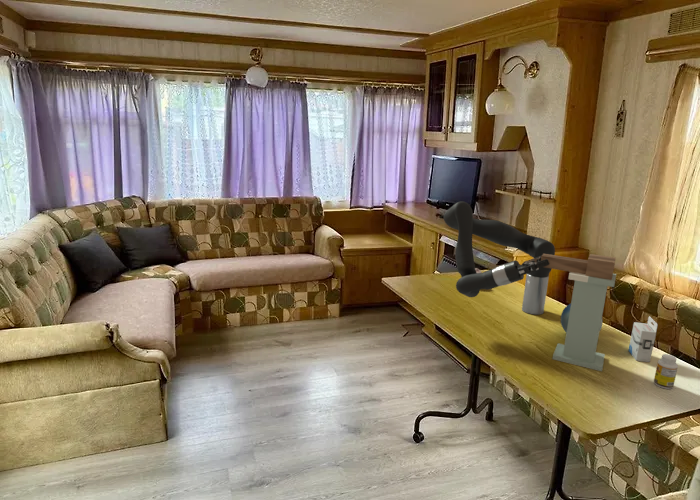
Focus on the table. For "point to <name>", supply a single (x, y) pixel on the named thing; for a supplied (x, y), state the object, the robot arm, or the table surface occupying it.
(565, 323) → the decorative ball
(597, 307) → the stand
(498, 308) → the table surface
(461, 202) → the robot arm
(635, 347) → the ink box
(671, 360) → the supplement bottle
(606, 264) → the walnut block
